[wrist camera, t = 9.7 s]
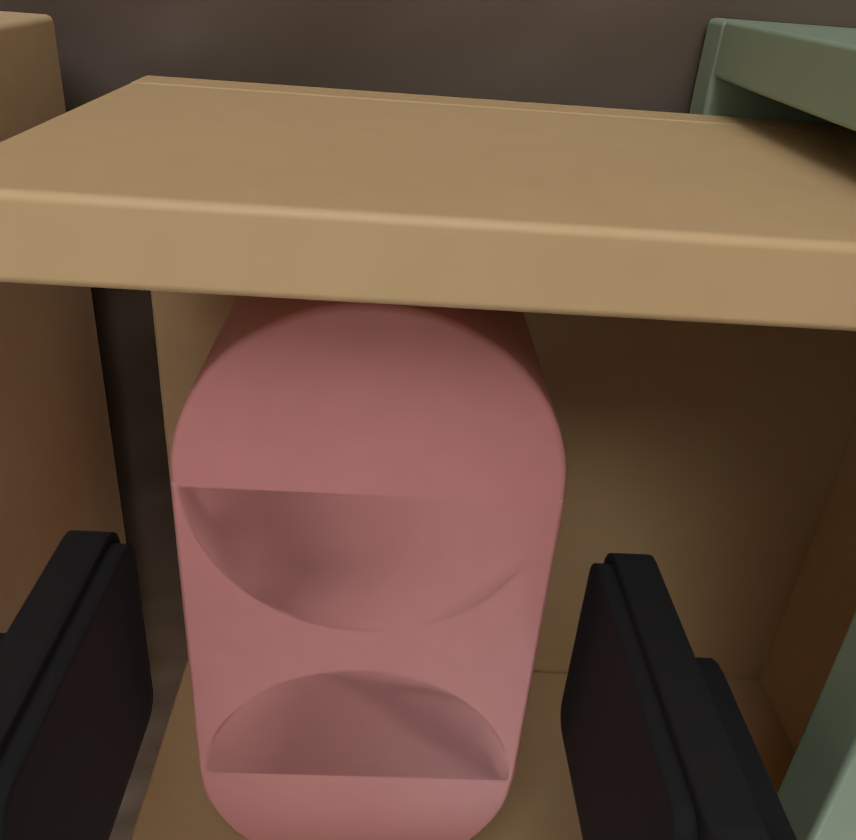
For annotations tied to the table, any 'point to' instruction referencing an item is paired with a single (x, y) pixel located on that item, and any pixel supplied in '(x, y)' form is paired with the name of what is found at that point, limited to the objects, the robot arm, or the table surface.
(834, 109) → the cabinet
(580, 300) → the drawer
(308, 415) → the pink notched rounded block
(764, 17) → the table surface
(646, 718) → the robot arm
